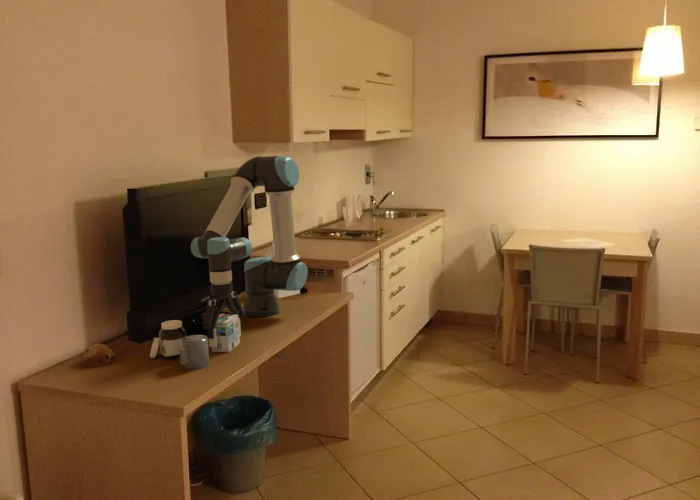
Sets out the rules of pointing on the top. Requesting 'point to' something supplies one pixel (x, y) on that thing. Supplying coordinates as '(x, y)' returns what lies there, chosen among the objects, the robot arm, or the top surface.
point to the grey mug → (194, 352)
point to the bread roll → (97, 355)
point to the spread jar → (169, 340)
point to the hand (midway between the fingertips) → (225, 341)
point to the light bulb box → (227, 332)
